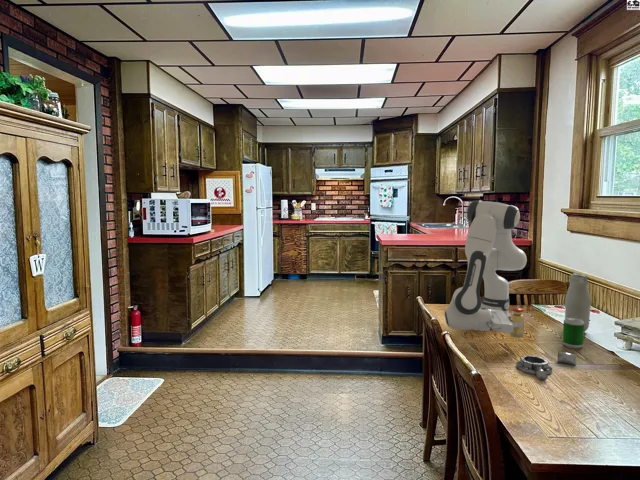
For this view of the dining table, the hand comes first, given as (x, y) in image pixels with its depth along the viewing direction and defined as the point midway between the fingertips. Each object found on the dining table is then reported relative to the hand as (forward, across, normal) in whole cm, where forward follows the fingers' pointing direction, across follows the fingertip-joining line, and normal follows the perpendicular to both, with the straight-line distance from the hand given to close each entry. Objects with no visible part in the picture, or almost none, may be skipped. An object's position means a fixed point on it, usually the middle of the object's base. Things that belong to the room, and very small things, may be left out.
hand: (519, 321), depth 178 cm
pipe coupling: (+15, -12, +12) cm, 22 cm away
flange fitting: (+1, -23, +12) cm, 26 cm away
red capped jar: (-1, 0, +6) cm, 6 cm away
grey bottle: (+33, +30, +13) cm, 47 cm away
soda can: (+24, +8, +13) cm, 28 cm away
